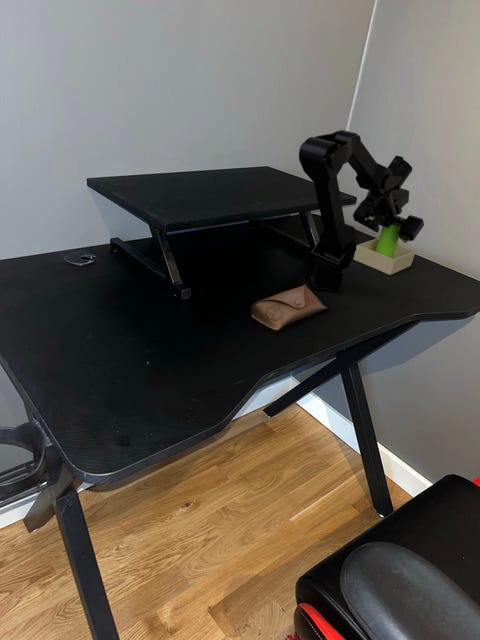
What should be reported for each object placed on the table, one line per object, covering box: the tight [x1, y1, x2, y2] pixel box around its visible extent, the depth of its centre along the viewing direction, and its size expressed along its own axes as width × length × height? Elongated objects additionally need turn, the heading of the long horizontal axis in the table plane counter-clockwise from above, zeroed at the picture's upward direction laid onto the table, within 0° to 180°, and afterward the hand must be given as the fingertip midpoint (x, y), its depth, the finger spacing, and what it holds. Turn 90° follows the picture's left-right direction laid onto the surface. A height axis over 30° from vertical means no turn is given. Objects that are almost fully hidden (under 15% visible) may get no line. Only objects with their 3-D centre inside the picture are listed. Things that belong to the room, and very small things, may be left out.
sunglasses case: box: [249, 283, 328, 331], centre depth 101 cm, size 18×7×7 cm
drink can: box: [376, 224, 400, 259], centre depth 131 cm, size 5×5×12 cm
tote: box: [353, 237, 416, 276], centre depth 133 cm, size 12×12×4 cm
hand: (391, 236), depth 131 cm, fingers open, 9 cm apart
